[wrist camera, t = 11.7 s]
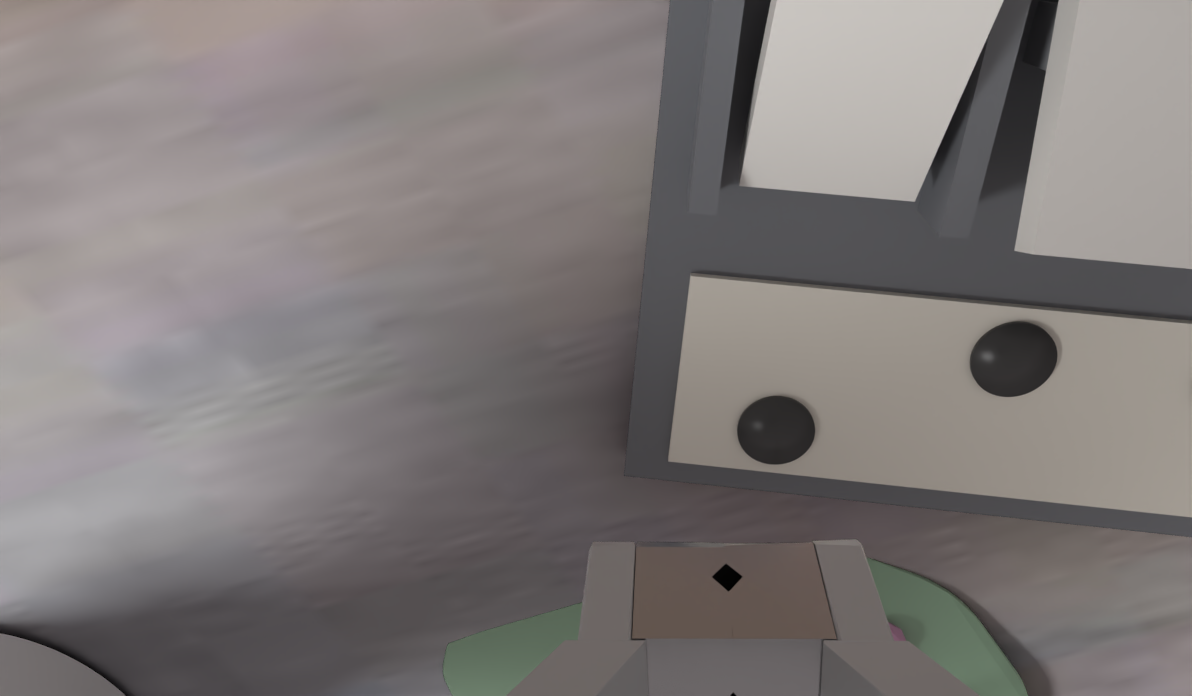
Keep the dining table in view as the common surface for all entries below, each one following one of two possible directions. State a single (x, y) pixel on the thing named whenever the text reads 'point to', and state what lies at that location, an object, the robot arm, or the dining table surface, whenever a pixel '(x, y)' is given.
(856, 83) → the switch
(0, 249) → the dining table surface
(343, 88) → the dining table surface
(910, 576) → the plant
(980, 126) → the switch unit
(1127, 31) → the switch middle
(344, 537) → the dining table surface
